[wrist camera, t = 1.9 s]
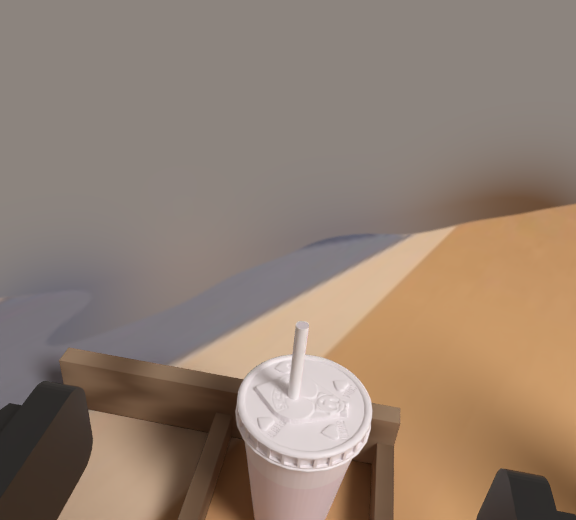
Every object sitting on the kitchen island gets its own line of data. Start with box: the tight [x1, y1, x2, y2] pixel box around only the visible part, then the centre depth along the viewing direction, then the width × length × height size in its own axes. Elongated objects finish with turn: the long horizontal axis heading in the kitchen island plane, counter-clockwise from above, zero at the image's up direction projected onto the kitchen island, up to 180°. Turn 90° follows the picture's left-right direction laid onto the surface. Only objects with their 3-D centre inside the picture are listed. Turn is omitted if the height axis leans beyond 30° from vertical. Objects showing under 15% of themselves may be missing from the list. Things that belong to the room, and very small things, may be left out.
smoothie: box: [235, 321, 372, 520], centre depth 27 cm, size 6×6×14 cm
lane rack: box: [59, 348, 400, 520], centre depth 30 cm, size 21×13×4 cm, turn 81°
